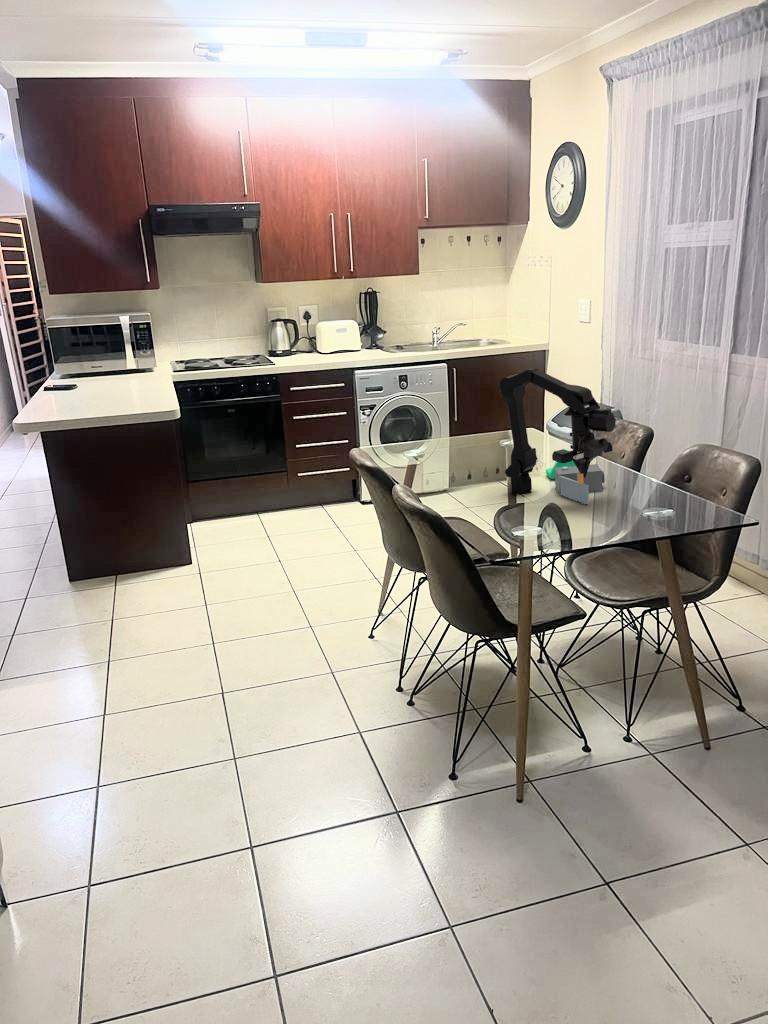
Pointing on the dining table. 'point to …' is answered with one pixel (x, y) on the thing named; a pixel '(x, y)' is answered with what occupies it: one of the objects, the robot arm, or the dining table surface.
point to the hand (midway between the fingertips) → (583, 477)
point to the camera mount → (551, 471)
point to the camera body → (592, 478)
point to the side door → (574, 488)
